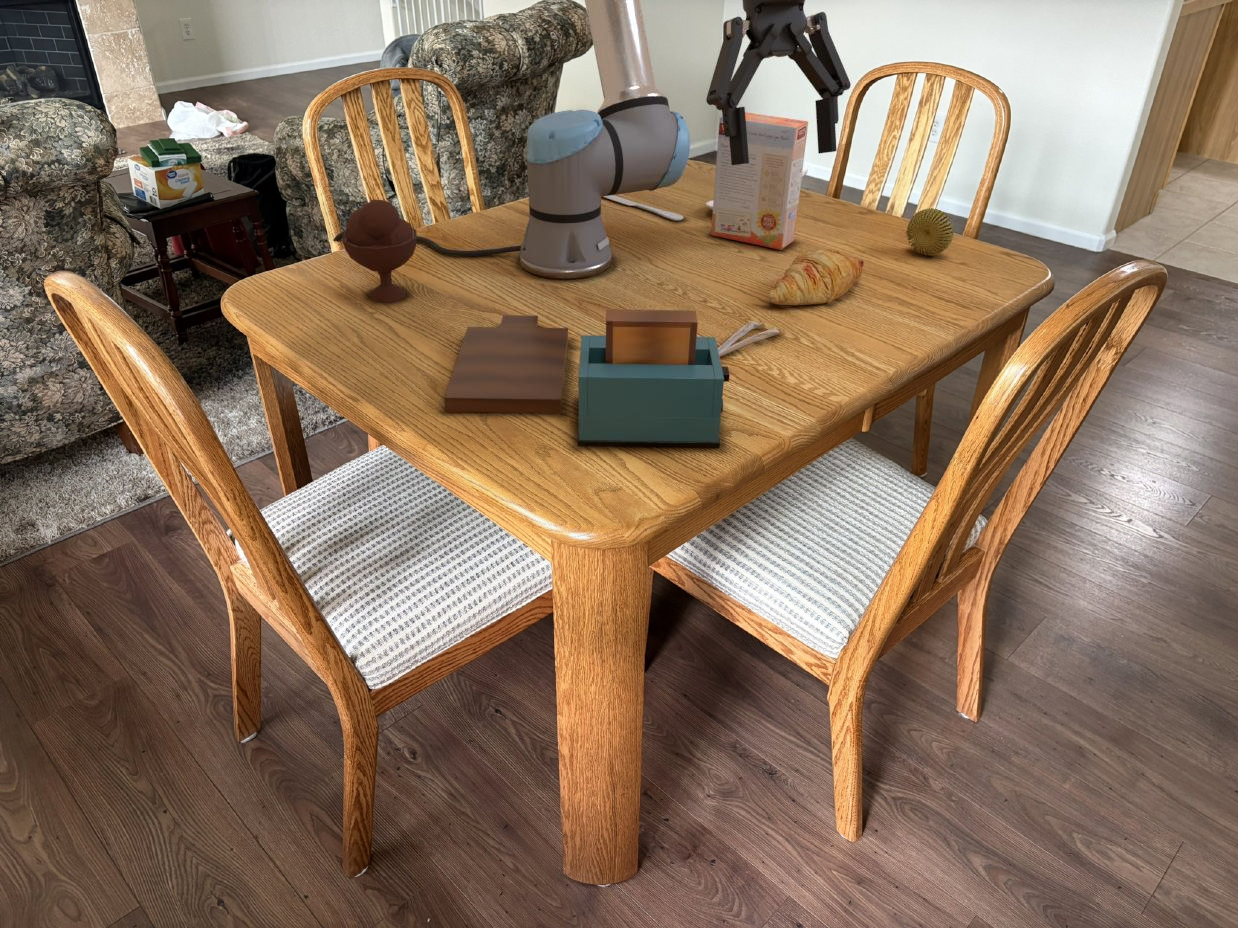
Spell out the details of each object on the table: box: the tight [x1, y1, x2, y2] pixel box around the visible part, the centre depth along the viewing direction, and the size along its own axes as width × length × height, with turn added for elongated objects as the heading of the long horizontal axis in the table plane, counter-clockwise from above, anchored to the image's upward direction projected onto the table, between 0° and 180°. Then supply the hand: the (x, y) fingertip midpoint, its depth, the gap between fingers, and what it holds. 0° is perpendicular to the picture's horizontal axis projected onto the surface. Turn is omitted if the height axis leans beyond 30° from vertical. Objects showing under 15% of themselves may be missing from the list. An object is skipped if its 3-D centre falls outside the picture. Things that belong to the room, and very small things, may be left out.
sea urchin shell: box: [906, 207, 955, 257], centre depth 155 cm, size 8×4×8 cm, turn 48°
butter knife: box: [602, 195, 684, 222], centre depth 176 cm, size 1×24×3 cm
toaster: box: [576, 334, 731, 449], centre depth 106 cm, size 17×11×9 cm, turn 90°
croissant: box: [767, 249, 864, 306], centre depth 141 cm, size 21×10×8 cm, turn 130°
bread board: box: [444, 314, 569, 414], centre depth 119 cm, size 24×14×2 cm, turn 0°
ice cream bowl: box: [341, 199, 418, 303], centre depth 135 cm, size 11×11×15 cm
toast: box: [605, 308, 699, 365], centre depth 103 cm, size 10×3×10 cm, turn 90°
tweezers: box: [718, 320, 780, 358], centre depth 125 cm, size 17×5×2 cm, turn 136°
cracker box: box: [710, 111, 809, 251], centre depth 156 cm, size 14×6×21 cm, turn 58°
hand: (784, 158), depth 114 cm, fingers open, 13 cm apart
